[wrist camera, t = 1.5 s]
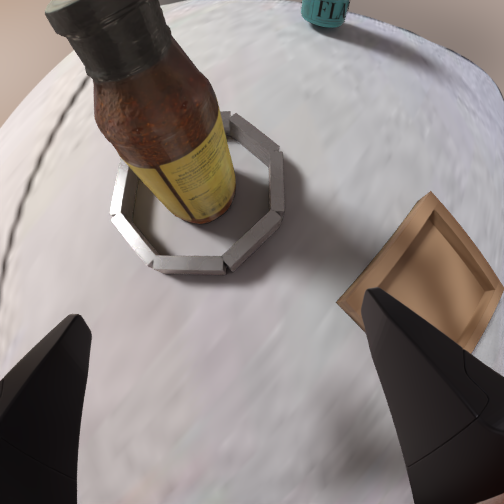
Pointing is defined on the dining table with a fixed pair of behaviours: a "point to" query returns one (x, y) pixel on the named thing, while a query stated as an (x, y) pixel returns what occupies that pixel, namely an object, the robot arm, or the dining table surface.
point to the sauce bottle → (152, 103)
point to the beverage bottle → (325, 12)
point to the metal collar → (244, 246)
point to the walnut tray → (432, 275)
